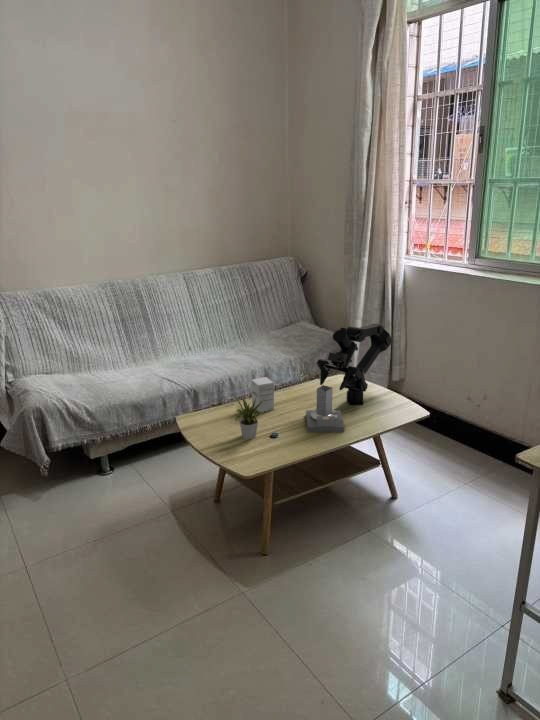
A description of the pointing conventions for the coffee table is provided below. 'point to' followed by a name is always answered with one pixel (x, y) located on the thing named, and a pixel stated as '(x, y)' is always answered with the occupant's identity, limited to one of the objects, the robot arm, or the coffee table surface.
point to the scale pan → (314, 415)
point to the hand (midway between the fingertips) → (330, 387)
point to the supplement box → (263, 394)
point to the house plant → (248, 419)
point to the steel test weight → (324, 400)
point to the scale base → (324, 429)
